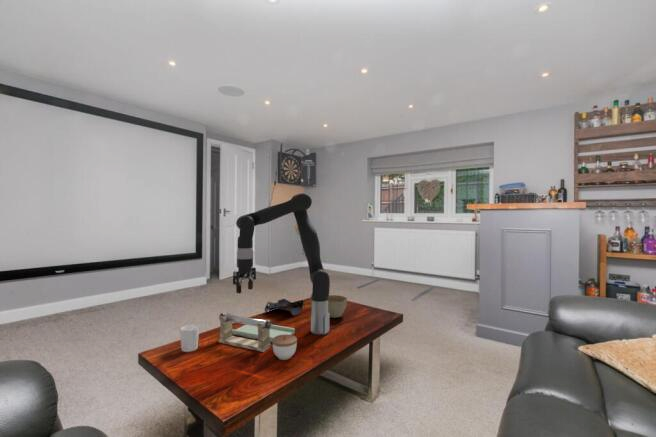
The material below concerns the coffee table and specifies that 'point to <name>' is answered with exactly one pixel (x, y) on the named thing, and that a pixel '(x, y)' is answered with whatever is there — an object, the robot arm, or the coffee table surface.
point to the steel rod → (245, 320)
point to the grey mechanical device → (286, 306)
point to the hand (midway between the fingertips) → (244, 291)
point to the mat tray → (252, 331)
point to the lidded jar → (284, 346)
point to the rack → (258, 345)
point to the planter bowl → (336, 305)
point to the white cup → (189, 337)
